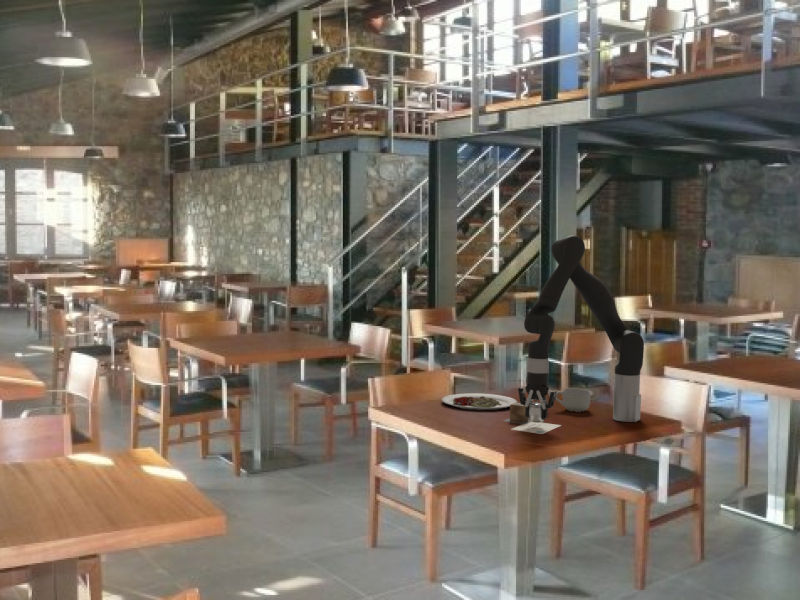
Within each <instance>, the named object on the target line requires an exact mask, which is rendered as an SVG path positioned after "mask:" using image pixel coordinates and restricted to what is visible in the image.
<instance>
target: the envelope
mask: <svg viewBox="0 0 800 600" xmlns="http://www.w3.org/2000/svg"><path fill="white" fill-rule="evenodd" d="M561 426H562V425H561V424H552V423H547V422H539V423H537V422H529V423H528V422H527V423H525V424H520V425H518V426H515V427H512V428H511V429H510V430H511V431H519V432H526V433H531V434H532V433H534V434H540V435H544V434H545V433H548V432H550V431H552V430H554V429H556V428H559V427H561Z"/></svg>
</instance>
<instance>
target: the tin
mask: <svg viewBox="0 0 800 600" xmlns="http://www.w3.org/2000/svg"><path fill="white" fill-rule="evenodd" d="M542 409H543V408H542V405H541V403H540V402H537V403H535V402H532V403H530V404H529V418H528V419H529V421H530V422H537V423H539V422H541V423H545V422H544V421H545V420H542Z"/></svg>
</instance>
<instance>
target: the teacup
mask: <svg viewBox="0 0 800 600" xmlns="http://www.w3.org/2000/svg"><path fill="white" fill-rule="evenodd" d="M591 393H592V391H590V390H588V389H585V388H580V387H578V388H577V387H567V388H563V389H562V390H558V391H556V397H555V401H556V402H558V403H560V404H561V405H562V406H563V407H564V408H566V410H567V411H569V412H573V411H575V412H576V413H582V412H581V411H583V412H585V411H586V410H587V409H589V408H590V404H591ZM558 395H561V396H562V400H561V399H559V398H558ZM575 412H574V413H575Z"/></svg>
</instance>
